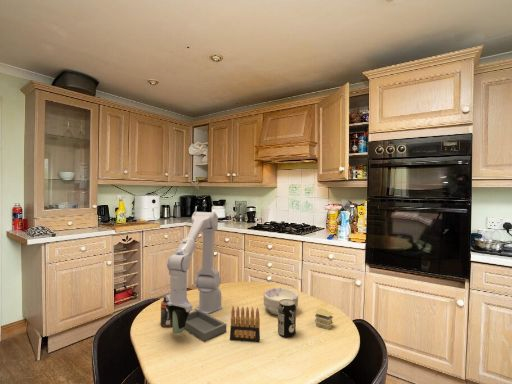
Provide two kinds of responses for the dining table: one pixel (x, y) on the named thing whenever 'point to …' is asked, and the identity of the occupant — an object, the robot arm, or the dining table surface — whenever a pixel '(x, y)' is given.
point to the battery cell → (176, 324)
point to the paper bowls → (278, 298)
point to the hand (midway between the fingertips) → (178, 325)
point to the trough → (204, 325)
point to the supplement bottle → (165, 314)
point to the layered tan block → (323, 318)
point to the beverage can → (286, 318)
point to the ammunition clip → (245, 326)
